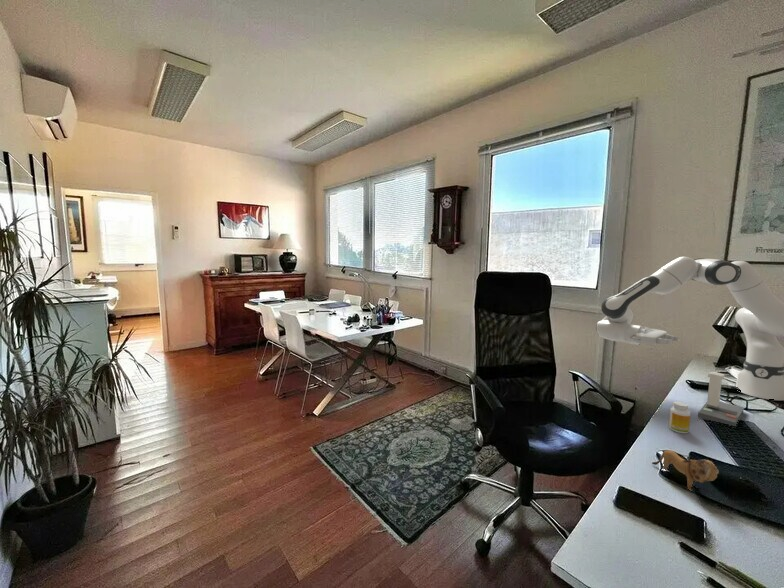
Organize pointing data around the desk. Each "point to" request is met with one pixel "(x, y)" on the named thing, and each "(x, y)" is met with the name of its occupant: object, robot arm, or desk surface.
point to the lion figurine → (690, 467)
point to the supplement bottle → (679, 417)
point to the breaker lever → (714, 389)
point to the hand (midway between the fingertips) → (675, 340)
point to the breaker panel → (722, 413)
